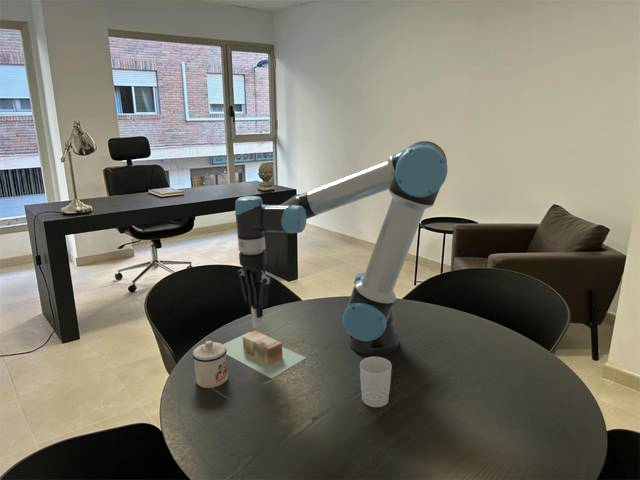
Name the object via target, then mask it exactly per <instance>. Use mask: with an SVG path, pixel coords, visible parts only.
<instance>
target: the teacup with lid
mask: <svg viewBox="0 0 640 480" xmlns="http://www.w3.org/2000/svg"><path fill="white" fill-rule="evenodd" d="M223 344H224V343H223ZM223 344H222V343H221V342H215V341H214V342H213V341H212V340H206V341H205V342H204V343H203V344H200V345H198V346H197V347H195V349H194V350H193V351H192V358H193V366H194V370H195V371H194V372H195V373H194V374H195V380H196V384H197V386H199V387H201V388H204V389H213V388H215V387H219V386H221V385H223V384H225V383H226V382H227V380H228V378H229V369H228V357H227V354H226V352H227V349H226V347H225V346H224V345H223Z"/></svg>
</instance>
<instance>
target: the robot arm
mask: <svg viewBox="0 0 640 480" xmlns="http://www.w3.org/2000/svg"><path fill="white" fill-rule="evenodd" d="M447 176H448V161H447V156H446V153H445V151H444V150H443V149H442V147H441V146H439V145H438V144H436V143H435V142H432V141H429V140H425V141H424V140H423V141H417V142H415V143H413V144H411V145H410V146H407V148H405V149H403V150H401V151H399V152H397V153H394V154H391V155H390V156H389V158H388V160H386V161H384V162H381V163H379V164H375V165H374V166H370V167H368V168H365V169H363V170H360V171H357V172H354V173H352V174H350V175H347V176H345V177H342V178H340V179H336V180H334V181H332V182H329V183H327V184H323V185H321V186H319V187H316V188H313V189H310V190H308V191H306V192H303V193H299V194H295V195H293V196H291V197H290V198H289V199H288V200H286V201H283V202H282V203H281V204H265V203H264V202H263V199H262V197H261V196H257V195H246V196H240V197H239V198H237V199H236V200H235V205H234V206H235V211H234V212H235V214H234V215H235V221H236V230H237V232H236V233H237V243H238V251H239V253H238V258H239V265H240V266H241V269H239V270H237V272H236V274H237V276H238V278H239V281H240V285H241V290H242V294H243V299H244V302H245V303H248V305H249V307H250V315H251V323H252V324H251V325H252V328H254V329H259V328H260V327H262V326H263V325H264V324H263V316H264V311H263V308H264V307H266V306H268V303H269V302H268V301H269V294H270V293H269V292H270V285H271V282H272V279H273V278H272V277H271V276H268V275H266V270H265V265H266V263H267V252H266V251H265V250H266V239H265V238H266V237H265V233H266V232H267V233H282V234H283V233H285V234H301V233H302V232H303V231H305V228H306V225H307V220H308V219H310V218H313V217H317V216H319V215H321V214H324V213H326V212H329V211H332V210H334V209H337V208H340V207H344V206H346V205H349V204H351V203H354V202H357V201H360V200H363V199H365V198H368V197H369V198H370V197H371V196H374V195H377V194H380V193H383V192H386V191H388V192H389V193H390V196H391V201H390V204H389V205H388V209H387V212H386V214H385V217H384V220H383V222H382V224H381V228H380V231H379V234H378V237H377V240H376V242H375V245H374V246H373V247H374V248H373V250H372V254H371V256H370V259H369V262H368V264H367V267H366V270H365V271H364V272H360V273H358V274H356V275H355V276H354V281H353V283H354V287H353V289H352V291H351V294H350V297H349V300H348V303H347V305H346V307H345V308H344V309H343V312H342V325H343V328H344V329H345V331H346V332H347V334H349V337H348V338H349V339H348V341H349V347H350V349H352V350H353V351H354V352H356V353H359V354H362V355H365V356H370V357H381V356H385V355H388V354H391V353H393V352H395V351H396V350H397V349H398V345H399V336H398V333H397V331H396V328H395V324H394V321H393V320H394V319H393V318H394V305H395V302H396V300H397V295H396V293H395V292H394V289H395V287H396V283H397V281H398V278H399V276H400V273H401V271H402V268H403V266H404V264H405V262H406V259H407V256H408V254H409V252H410V248H411V246H412V243H413V241H414V239H415V236H416V233H417V231H418V227H419V225H420V223H421V221H422V218H423V216H424V213H425V210H426V209H429V208H431V207H433V206H434V205H435V202H436V199H437V197H438V194H439V192H440V189H441V188H442V186H443V185H444V183H445V181H446V179H447Z"/></svg>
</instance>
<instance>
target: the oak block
mask: <svg viewBox="0 0 640 480" xmlns="http://www.w3.org/2000/svg"><path fill="white" fill-rule="evenodd" d="M250 332H251V333H249V334H247V335H245V336H243V348H244V352H246V353H248V354H250V355H252V356H254V357H256V358H258V359H260V360H262V361H264V362H266V363H268V364H270V365H271V364H272V363H274V362H276V361H278V360H280V359H281V358H283V355H282V347H283V342H281V341H279V340H277V339H275V338H272V337H270V336H269V335H266V334H264V333H262V332H259V331H258V330H254V331H250Z"/></svg>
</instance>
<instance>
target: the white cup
mask: <svg viewBox="0 0 640 480" xmlns="http://www.w3.org/2000/svg"><path fill="white" fill-rule="evenodd" d="M392 366H393V365H392V363H391V361H390V360H388V359H387V358H385V357H381V356H368V357H364V358H363V359H362V360H361V361H359V377H360V389H361V400H362V403H364V404H365V405H366V406H368V407H371V408H381V407H384V406H386V405H387V404H388V403H389V399H390V398H389V397H390V392H391V381H392Z"/></svg>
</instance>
